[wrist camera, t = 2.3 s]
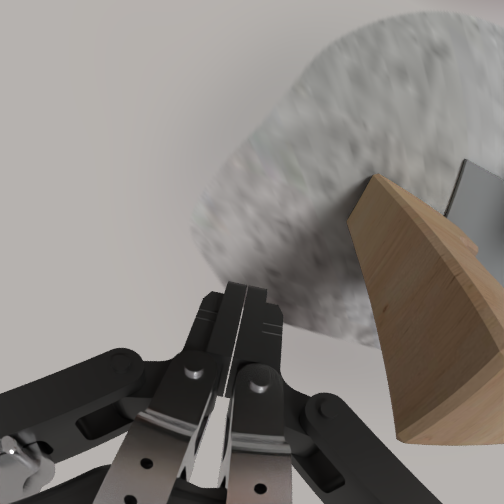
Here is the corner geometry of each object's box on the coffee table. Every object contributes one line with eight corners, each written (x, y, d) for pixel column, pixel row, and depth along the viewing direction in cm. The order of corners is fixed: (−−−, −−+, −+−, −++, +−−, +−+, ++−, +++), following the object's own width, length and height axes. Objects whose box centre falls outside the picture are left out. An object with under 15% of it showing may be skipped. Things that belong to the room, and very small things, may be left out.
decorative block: (460, 228, 23) (574, 387, 5) (428, 272, 26) (504, 447, 8) (375, 168, 22) (517, 345, 5) (342, 222, 25) (389, 446, 8)
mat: (563, 222, 20) (564, 223, 19) (514, 318, 28) (515, 319, 27) (465, 158, 20) (467, 159, 20) (406, 298, 28) (407, 300, 28)
